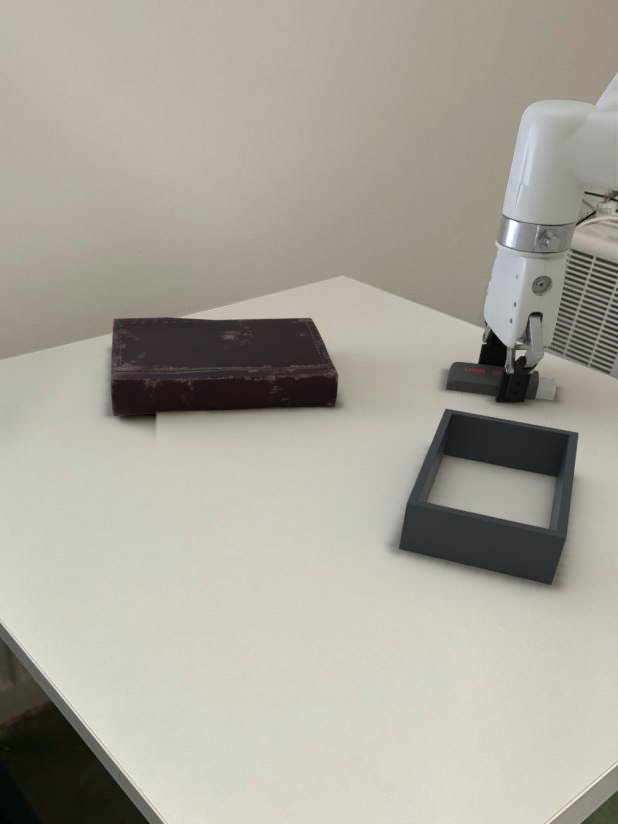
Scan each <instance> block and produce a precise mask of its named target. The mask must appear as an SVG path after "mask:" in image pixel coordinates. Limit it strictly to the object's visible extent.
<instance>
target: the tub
mask: <svg viewBox="0 0 618 824" xmlns="http://www.w3.org/2000/svg"><path fill="white" fill-rule="evenodd" d="M578 443H579V432H577V431H572V430H566V429H562V428H555V427H550V426H545V425H538V424H533V423H528V422H522V421H517V420H511V419H505V418H500V417H496V416H489V415H484V414H478V413H472V412H468V411H463V410H462V411H461V410H456V409H451V408H445V409H444V411H443V414H442V416H441V418H440V421H439V423H438V425H437V428H436V431H435V433H434V435H433V438H432V440H431V443H430V445H429V448H428V450H427V452H426V455H425V458H424V459H423V462H422V465H421V466H420V470H419V472H418V475H417V477H416V480H415V482H414V484H413V486H412V489H411V492H410V495H409V497H408V499H407V502H406V504H405V509H404V510H405V511H404V516H403V522H402V528H401V532H400V533H401V534H400V538H399V539H400V540H399V545H398V550H402V551H406V552H410V553H414V554H418V555H423V556H427V557H430V558H435V559H439V560H443V561H448V562H451V563H456V564H461V565H464V566H469V567H473V568H476V569H482V570H486V571H490V572H494V573H498V574H502V575H507V576H510V577H515V578H519V579H524V580H528V581H532V582H537V583H541V584H545V585H550V586H552V584H553V581H554V578H555V575H556V571H557V569H558V566H559V562H560V559H561V556H562V554H563V551H564V547H565V544H566V540H567V536H568V528H569V519H570V511H571V503H572V495H573V486H574V476H575V469H576V459H577V451H578ZM444 456H448V457H452V458H459V459H463V460H468V461H474V462H478V463H483V464H488V465H493V466H499V467H504V468H507V469H512V470H513V469H514V470H519V471H524V472H529V473H534V474H538V475H543V476H548V477H554V478H556V481H555V487H554V494H553V500H552V505H551V513H550V521H549V528H546V527H542V526H537V525H532V524H529V523H528V524H527V523H523V522H518V521H515V520H510V519H504V518H500V517H496V516H491V515H486V514H482V513H478V512H473V511H469V510H468V511H467V510H464V509H458V508H455V507H449V506H445V505H442V504H441V505H440V504H435V503H432V502H427V501H428V498H429V496H430V493H431V490H432V488H433V486H434V482H435V480H436V477H437V475H438V471H439V469H440V466H441V464H442V462H443V458H444Z"/></svg>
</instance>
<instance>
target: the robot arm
mask: <svg viewBox="0 0 618 824" xmlns="http://www.w3.org/2000/svg"><path fill="white" fill-rule="evenodd" d="M587 186H590V187H595V188H596V187H597V188H602V189H606V190H611V191H615V192H618V71H617V72H616V73H615V75H614V77H613V78H612V80H611V81H610V82H609V84H608V85H607V86H606V88H605V90H604V91H603V92H602V93H601V95H600V97H599V98H598V100H597V102H596V103H595V104H593V103H590V102H584V101H580V100H571V99H544V100H543V99H542V100H539V101H535V102H532V103H531V104H530V105H528V106H527V107H526V108H525V110H524V112H523V114H522V116H521V119H520V122H519V126H518V131H517V137H516V142H515V146H514V151H513V156H512V161H511V166H510V171H509V175H508V181H507V185H506V191H505V195H504V199H503V205H502V209H501V210H502V211H501V215H500V218H499V219H500V220H499V224H498V229H497V234H496V238H495V243H494V245H495V247H496V248H497V253H496V256H495V259H494V262H493V263H494V264H493V265H492V270H491V274H490V278H489V282H488V285H487V291H486V296H485V301H484V307H483V318H484V324H485V329H484V330H483V334H482V335H481V336H482V337H481V338H482V339H481V340H482V344H481V346H480V352H479V356H478V361H477V364H483V365H491V366H500V367H506V370H502V373H501V377H500V382H499V386H498V390H497V395H496V396H495V402H496V404H497V403H498V404H499V403H525V401H526V400H525V397H526V393H527V389H528V385H529V381H530V377H531V374H533V372H534V371H535V368H536V367H538V364H539V363H540V361H542V360H543V359H544V357H545V349H548V348H549V347H550V346H551V345H552V342H553V339H554V334H555V331H556V326H557V321H558V317H559V312H560V308H561V301H562V297H563V291H564V284H565V276H566V267H567V266H566V265H567V257H566V256H567V255H568V254H569V253H570V250H571V246H572V243H573V238H574V234H575V231H576V226H577V223H578V218H579V214H580V211H581V206H582V203H583V200H584V195H585V192H586V187H587ZM518 340H526V343H521V344H520V343H517V341H518ZM517 351H526V352H525V353H524V355H520V356H519V357H518V358H517V359H516V355H517Z"/></svg>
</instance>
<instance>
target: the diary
mask: <svg viewBox="0 0 618 824" xmlns="http://www.w3.org/2000/svg"><path fill="white" fill-rule="evenodd" d="M110 353H111V355H110V356H111V357H110V394H111V395H110V396H111V399H110V400H111V409H112V410H111V411H112V416H113V417H122V416H137V415H155V414H157V412H158V413H159V412H160V413H161V412H189V411H192V412H193V411H233V410H235V411H236V410H255V409H256V410H258V409H281V408H331V407H332V408H334V407H336V405H337V397H338V388H339V387H338V386H339V373H338V371H337V369H336V366H335V365H334V363H333V360H332V358H331V356H330V354H329V352H328V349H327V347H326V344H325V341H324V339H323V337H322V335H321V333H320V331H319V329H318V326H317V325H316V324H315V322H314V320H313V318H312V317H286V318H285V317H283V318H279V317H277V318H240V319H239V318H237V319H236V318H235V319H207V318H206V319H205V318H188V317H172V316H163V317H161V316H159V317H132V318H131V317H127V318H126V317H124V318H123V317H121V318H113V319H112V331H111V352H110Z"/></svg>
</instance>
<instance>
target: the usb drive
mask: <svg viewBox="0 0 618 824" xmlns="http://www.w3.org/2000/svg"><path fill="white" fill-rule="evenodd" d="M502 370H506V366H505V367H500V366H491V365H483V364H478V363H475V362H467V361H466V362H465V361H454V362H452V363H451V365H450V367H449V370H448V375H447V381H446V386H445V390H446V391H447V390H448V391H454V392H460V393H461V392H462V393H468V394H476V395H477V394H478V395H484V396H492V397H496V395H497V390H498V386H499V382H500V377H501V373H502ZM556 393H557V386H556V378H551V377H544V376H540V372H539V370H534V372H533V374H531V377H530V381H529V385H528V389H527V393H526V397H525V401H528V400H535V399H541V400H548V401H554V399H555V396H556Z"/></svg>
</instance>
